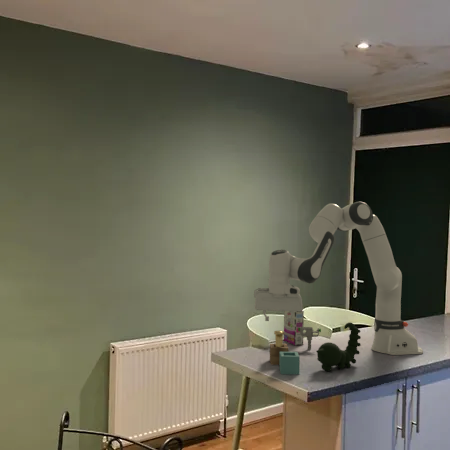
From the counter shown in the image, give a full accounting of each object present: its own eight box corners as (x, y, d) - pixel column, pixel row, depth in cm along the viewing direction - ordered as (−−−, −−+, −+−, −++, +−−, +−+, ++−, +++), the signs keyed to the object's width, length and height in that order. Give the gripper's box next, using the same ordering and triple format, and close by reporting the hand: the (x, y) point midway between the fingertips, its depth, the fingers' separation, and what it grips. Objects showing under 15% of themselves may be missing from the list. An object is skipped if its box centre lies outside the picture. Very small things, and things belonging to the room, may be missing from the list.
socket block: (297, 368, 216) (297, 351, 216) (299, 374, 209) (299, 356, 209) (279, 368, 217) (279, 351, 216) (280, 374, 209) (281, 356, 209)
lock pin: (283, 361, 228) (283, 330, 228) (284, 363, 224) (284, 332, 224) (273, 360, 228) (273, 330, 228) (274, 363, 224) (274, 332, 224)
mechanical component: (320, 350, 245) (320, 328, 245) (298, 349, 247) (298, 327, 247) (320, 349, 248) (320, 327, 248) (298, 347, 250) (298, 326, 250)
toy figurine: (346, 364, 229) (306, 369, 213) (349, 320, 230) (309, 322, 214) (364, 369, 222) (324, 375, 206) (367, 323, 222) (327, 326, 207)
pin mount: (286, 360, 230) (286, 343, 229) (288, 364, 222) (288, 348, 222) (269, 359, 230) (269, 343, 229) (270, 364, 222) (271, 347, 222)
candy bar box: (303, 345, 256) (304, 310, 255) (294, 346, 254) (295, 311, 253) (292, 339, 266) (292, 306, 266) (283, 340, 264) (283, 307, 264)
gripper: (254, 288, 223) (253, 321, 223) (303, 290, 222) (302, 323, 222) (254, 286, 229) (253, 318, 230) (302, 288, 228) (301, 320, 228)
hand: (278, 321), depth 226 cm, fingers open, 8 cm apart
